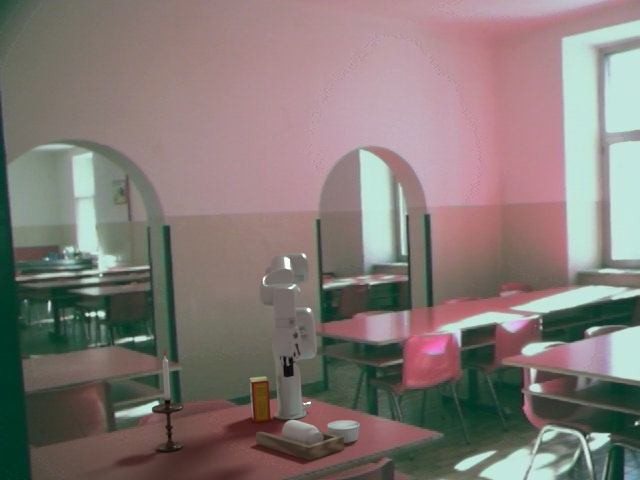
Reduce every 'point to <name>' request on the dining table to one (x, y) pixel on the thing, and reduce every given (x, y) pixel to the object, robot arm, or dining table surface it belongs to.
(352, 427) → the ramekin
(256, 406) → the baking soda box
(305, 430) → the pill bottle
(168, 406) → the candlestick
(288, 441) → the u rest
